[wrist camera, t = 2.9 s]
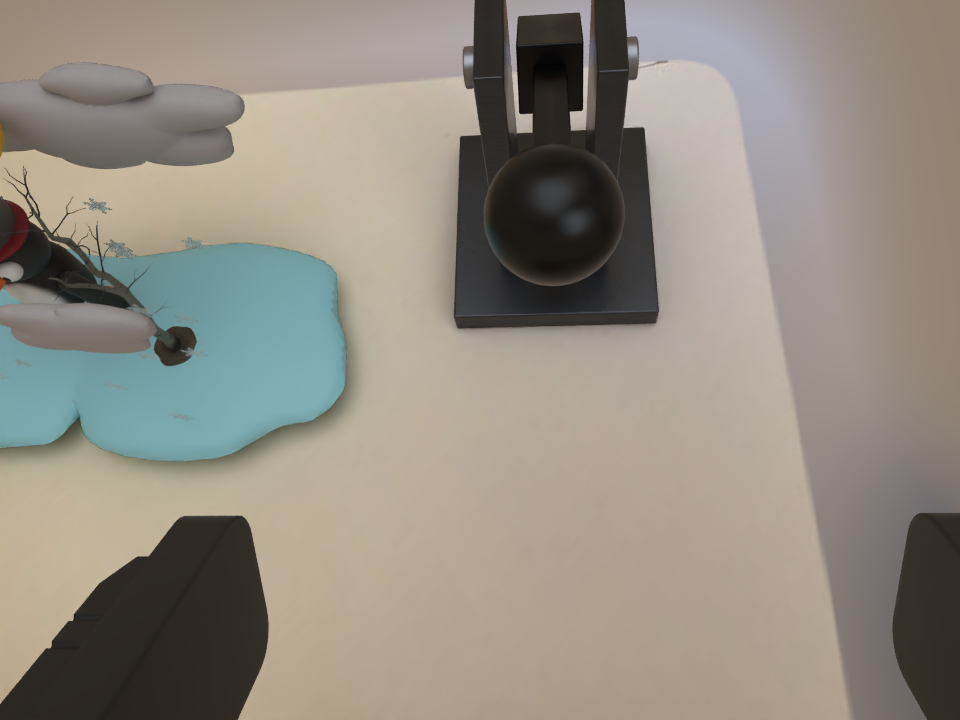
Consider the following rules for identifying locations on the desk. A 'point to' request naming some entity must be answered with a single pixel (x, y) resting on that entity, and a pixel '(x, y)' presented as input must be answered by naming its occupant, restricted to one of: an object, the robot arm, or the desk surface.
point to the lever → (552, 168)
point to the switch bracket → (487, 68)
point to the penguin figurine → (151, 291)
